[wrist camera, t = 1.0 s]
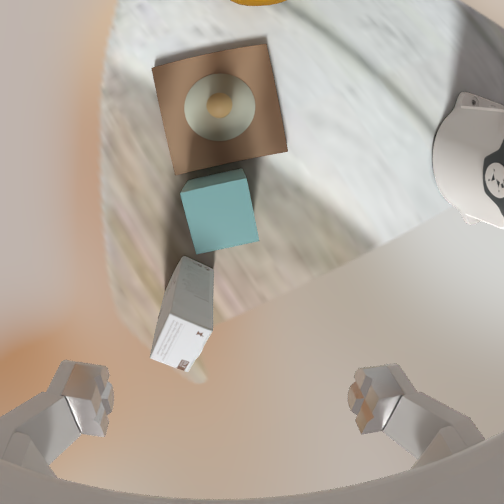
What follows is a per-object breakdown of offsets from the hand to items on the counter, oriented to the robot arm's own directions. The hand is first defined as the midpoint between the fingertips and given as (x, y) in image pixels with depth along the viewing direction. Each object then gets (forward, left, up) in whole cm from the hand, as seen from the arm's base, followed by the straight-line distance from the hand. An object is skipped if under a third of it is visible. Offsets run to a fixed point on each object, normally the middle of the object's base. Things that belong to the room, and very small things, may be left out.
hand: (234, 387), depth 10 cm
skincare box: (+7, +9, -28) cm, 30 cm away
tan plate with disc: (-1, -10, -28) cm, 29 cm away
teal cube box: (+1, 0, -28) cm, 28 cm away
